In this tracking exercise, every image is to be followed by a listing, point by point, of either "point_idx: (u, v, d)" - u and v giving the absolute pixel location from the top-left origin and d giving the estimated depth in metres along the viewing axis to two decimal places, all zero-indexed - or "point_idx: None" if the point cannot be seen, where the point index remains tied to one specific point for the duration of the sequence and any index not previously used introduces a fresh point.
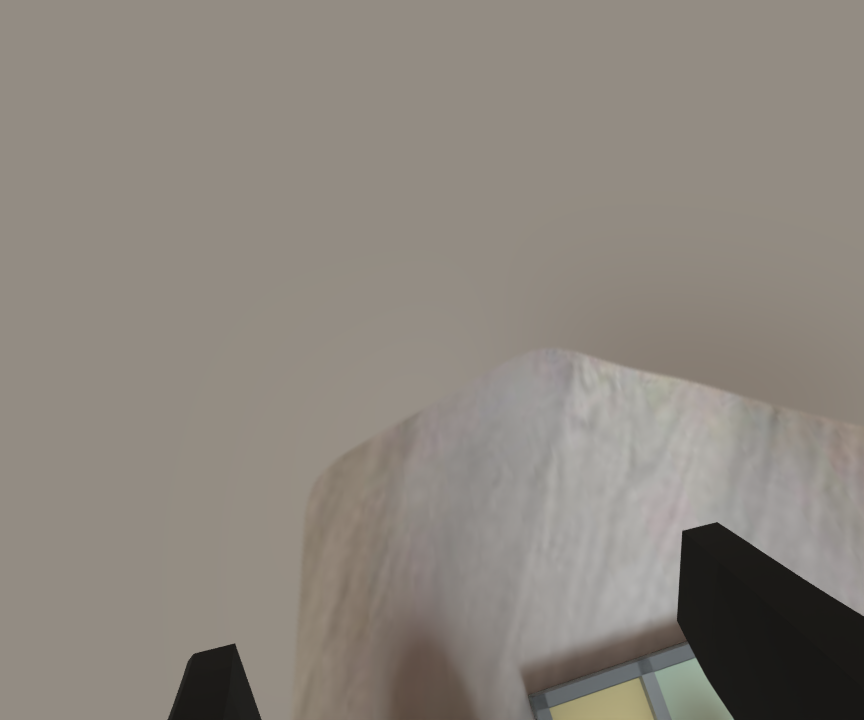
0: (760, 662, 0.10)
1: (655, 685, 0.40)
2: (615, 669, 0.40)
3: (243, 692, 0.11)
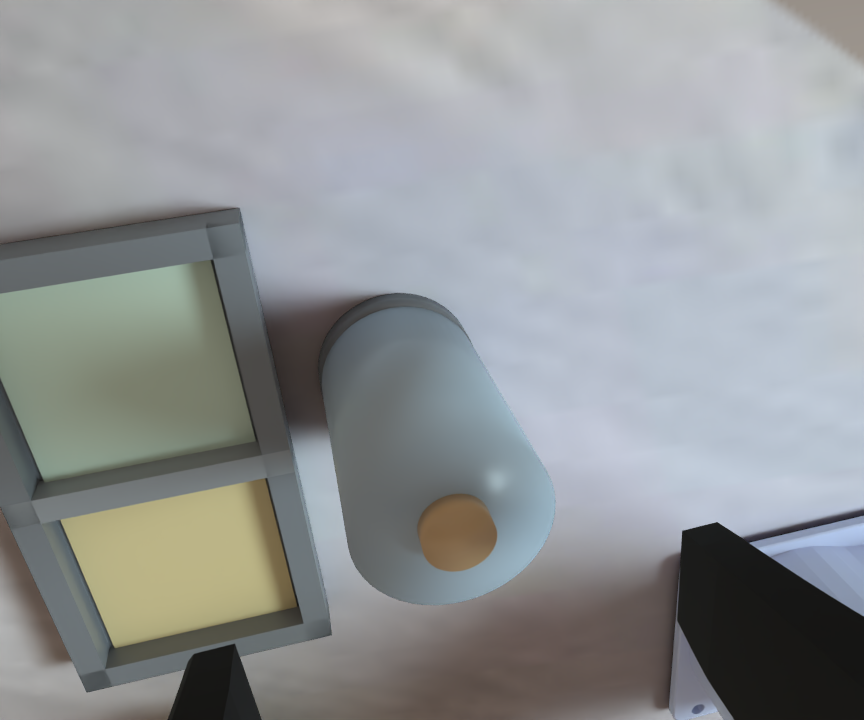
0: (760, 662, 0.10)
1: (62, 500, 0.18)
2: (29, 565, 0.19)
3: (243, 692, 0.11)
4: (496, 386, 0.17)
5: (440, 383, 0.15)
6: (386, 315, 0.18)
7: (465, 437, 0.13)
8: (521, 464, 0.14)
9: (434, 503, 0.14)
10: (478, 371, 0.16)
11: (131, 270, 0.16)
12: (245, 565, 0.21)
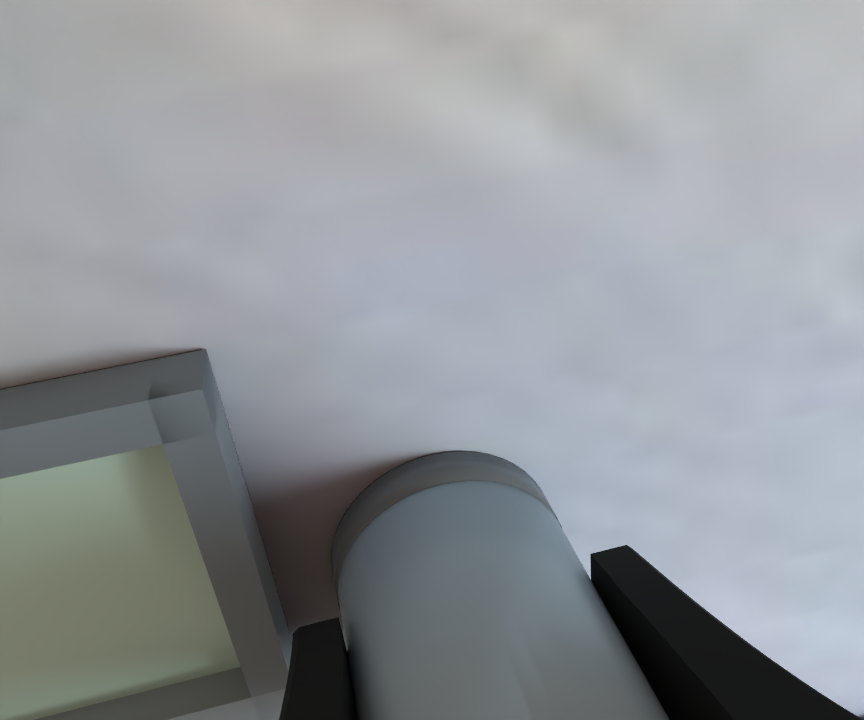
0: (657, 691, 0.10)
1: None
2: None
3: (348, 665, 0.11)
4: (619, 631, 0.11)
5: (549, 684, 0.09)
6: (436, 501, 0.12)
7: None
8: None
9: None
10: (596, 622, 0.10)
11: (29, 467, 0.10)
12: None
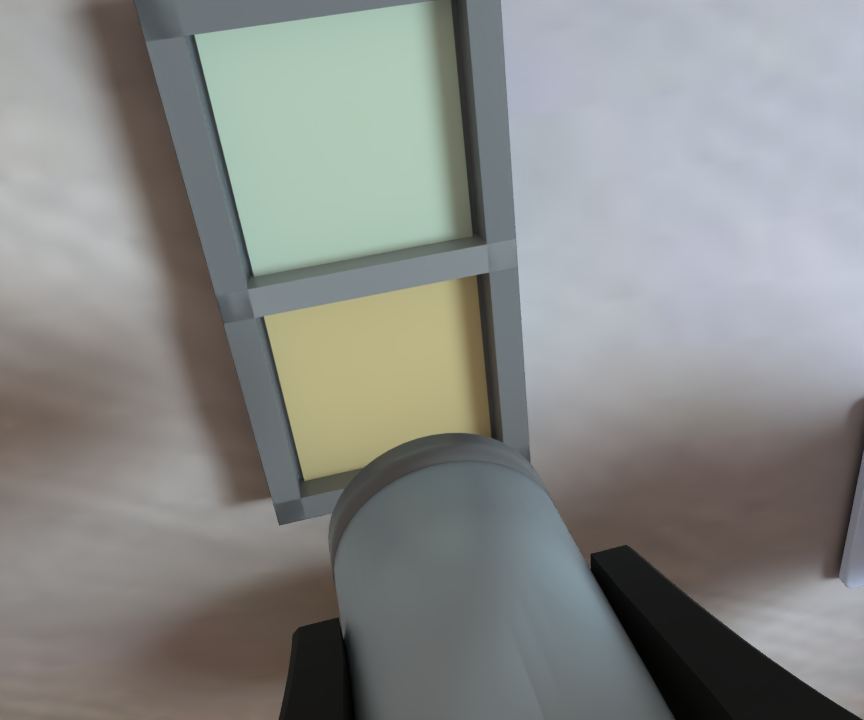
0: None
1: (279, 291, 0.17)
2: (237, 369, 0.18)
3: None
4: None
5: (549, 654, 0.09)
6: (437, 478, 0.12)
7: None
8: None
9: None
10: (593, 600, 0.10)
11: (378, 7, 0.15)
12: (445, 386, 0.20)
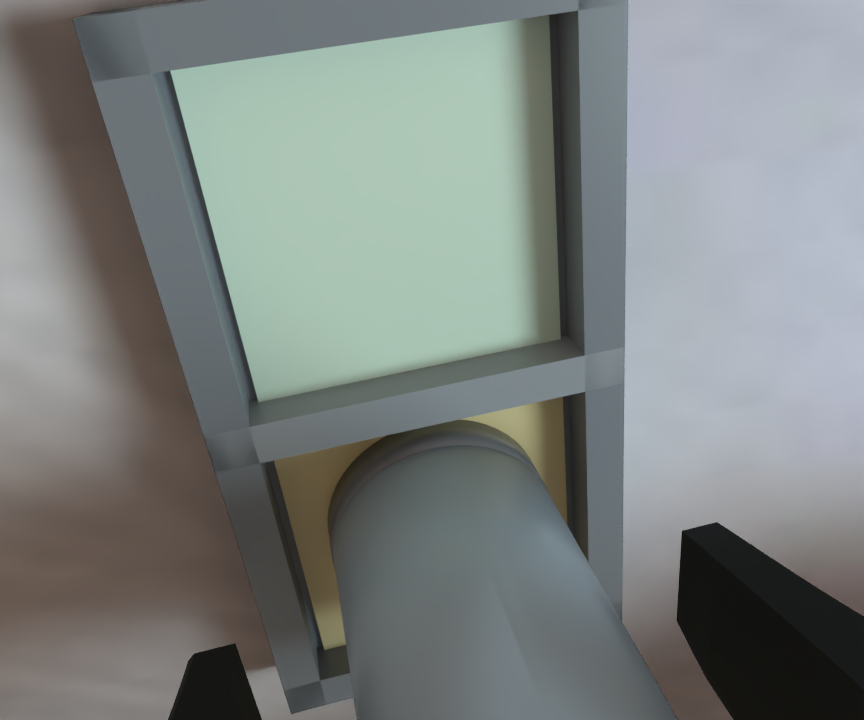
0: (760, 662, 0.10)
1: (294, 427, 0.12)
2: (235, 529, 0.13)
3: (243, 692, 0.11)
4: (603, 589, 0.11)
5: (538, 625, 0.09)
6: (433, 462, 0.12)
7: None
8: None
9: None
10: (583, 576, 0.11)
11: (447, 28, 0.10)
12: None
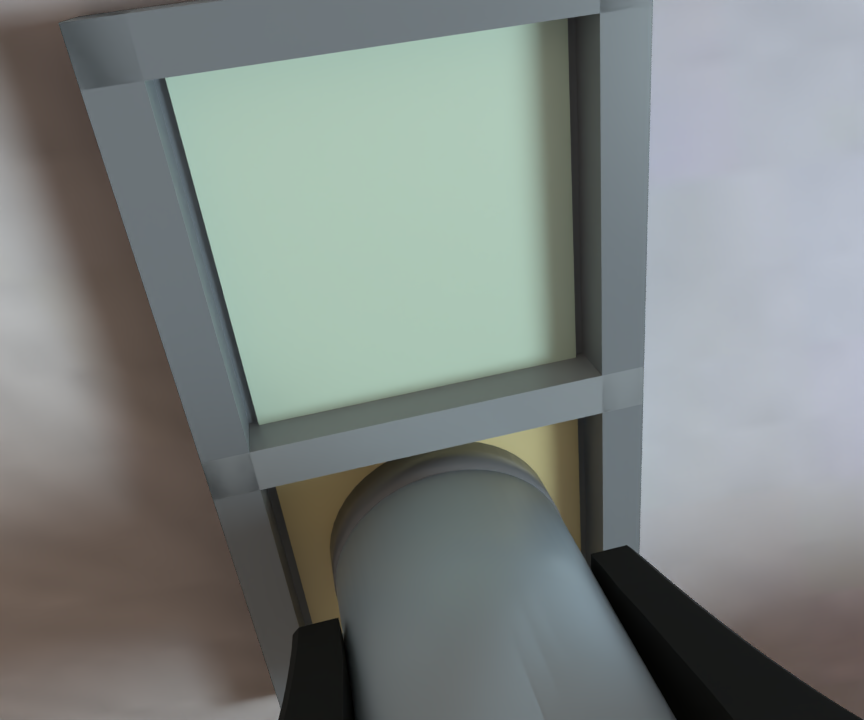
0: None
1: (296, 452, 0.11)
2: (234, 558, 0.12)
3: (347, 665, 0.11)
4: None
5: (555, 670, 0.09)
6: (440, 488, 0.12)
7: None
8: None
9: None
10: (601, 613, 0.10)
11: (460, 32, 0.09)
12: None
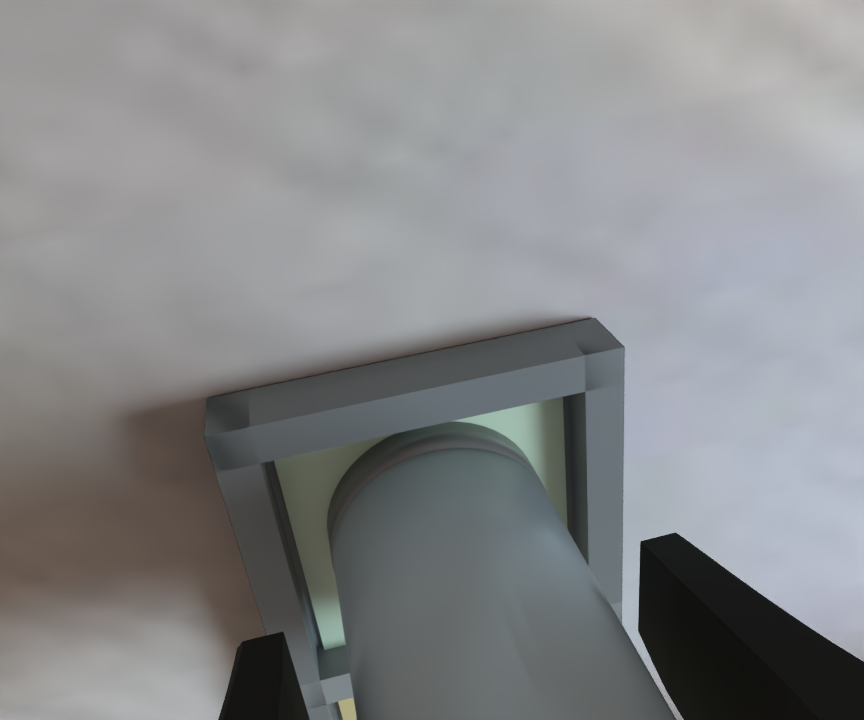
0: (713, 675, 0.10)
1: None
2: None
3: (292, 679, 0.11)
4: None
5: (537, 627, 0.09)
6: (431, 465, 0.12)
7: None
8: None
9: None
10: (581, 578, 0.11)
11: (484, 409, 0.13)
12: None
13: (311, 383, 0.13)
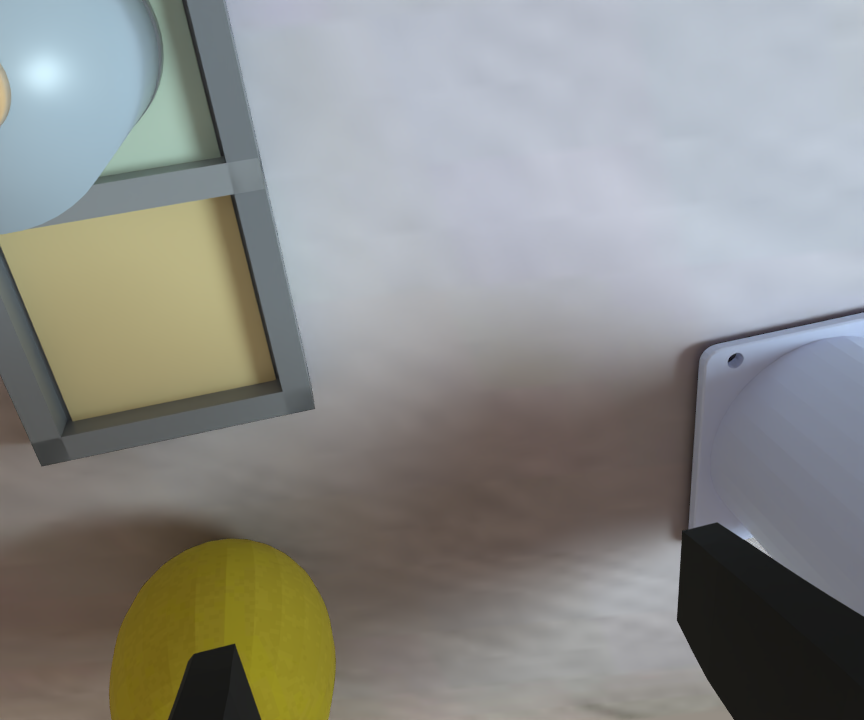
0: (760, 662, 0.10)
1: None
2: None
3: (243, 692, 0.11)
4: None
5: None
6: None
7: None
8: None
9: None
10: None
11: None
12: (215, 322, 0.19)
13: None
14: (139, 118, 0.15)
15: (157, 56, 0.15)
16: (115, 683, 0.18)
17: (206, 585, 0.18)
